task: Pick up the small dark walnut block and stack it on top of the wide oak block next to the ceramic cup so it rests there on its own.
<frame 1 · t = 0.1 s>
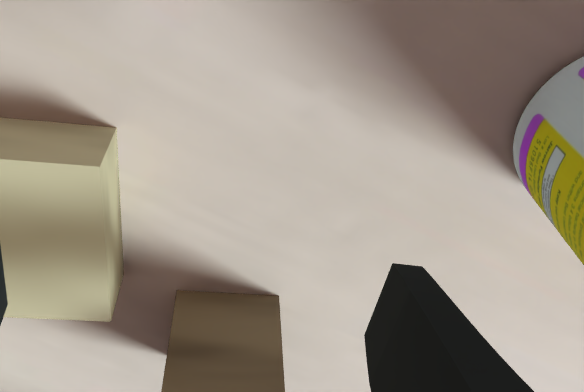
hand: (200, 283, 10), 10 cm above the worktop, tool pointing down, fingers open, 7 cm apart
oak block: (28, 196, 21), on the worktop
walnut block: (225, 327, 26), on the worktop
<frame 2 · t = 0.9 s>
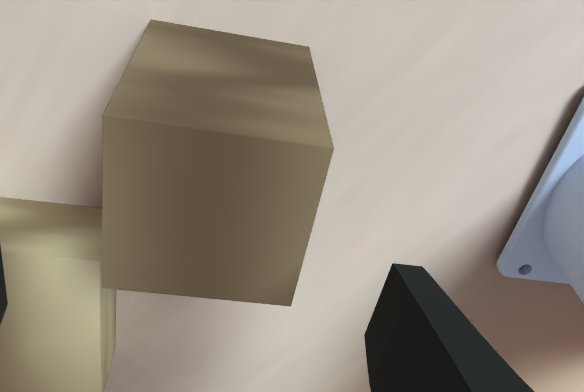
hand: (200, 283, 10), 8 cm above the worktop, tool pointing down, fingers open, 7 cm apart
oak block: (20, 269, 20), on the worktop
walnut block: (222, 104, 17), on the worktop
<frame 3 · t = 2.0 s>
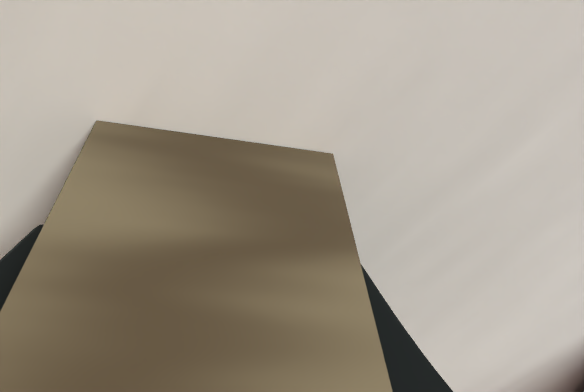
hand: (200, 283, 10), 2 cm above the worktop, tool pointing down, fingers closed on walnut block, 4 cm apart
walnut block: (206, 230, 12), on the worktop, touching gripper
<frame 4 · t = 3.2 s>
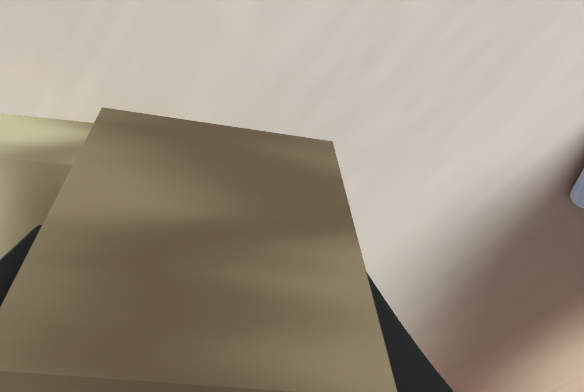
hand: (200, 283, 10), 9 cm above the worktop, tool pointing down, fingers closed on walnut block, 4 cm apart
oak block: (92, 202, 20), on the worktop
walnut block: (208, 216, 12), point 7 cm above the worktop, touching gripper
when the fingers open (6 cm above the worktop, at t = 4.6 s): walnut block drops 1 cm, resting on oak block.
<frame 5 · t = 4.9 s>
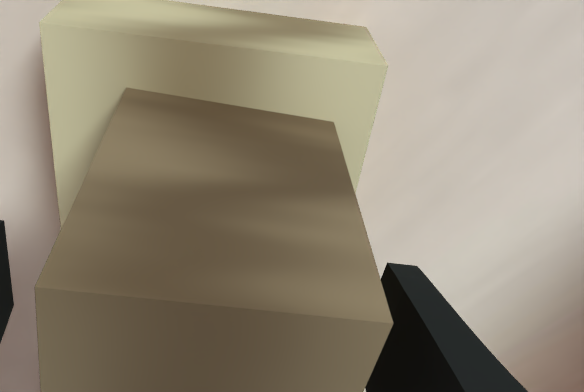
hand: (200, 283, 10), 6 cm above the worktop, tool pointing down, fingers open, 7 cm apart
oak block: (215, 129, 15), on the worktop, touching walnut block
walnut block: (219, 191, 13), point 3 cm above the worktop, touching oak block
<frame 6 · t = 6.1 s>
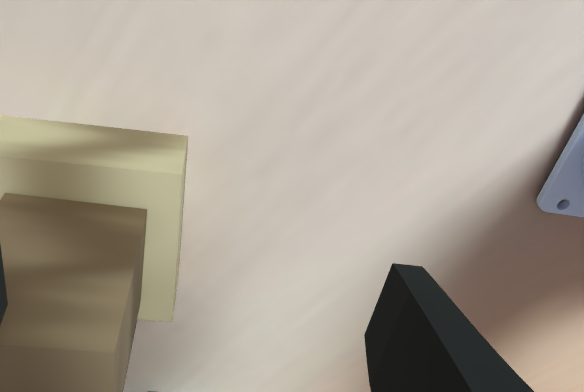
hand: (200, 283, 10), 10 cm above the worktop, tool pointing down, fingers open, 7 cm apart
oak block: (94, 198, 22), on the worktop
walnut block: (78, 252, 19), point 3 cm above the worktop
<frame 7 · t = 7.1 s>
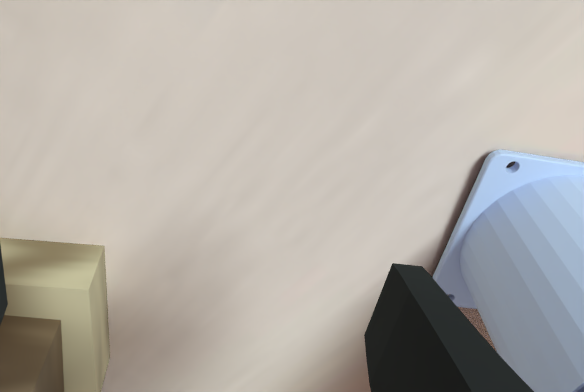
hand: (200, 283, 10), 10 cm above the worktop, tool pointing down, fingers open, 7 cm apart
oak block: (28, 294, 25), on the worktop, touching walnut block
walnut block: (5, 354, 22), point 3 cm above the worktop, touching oak block
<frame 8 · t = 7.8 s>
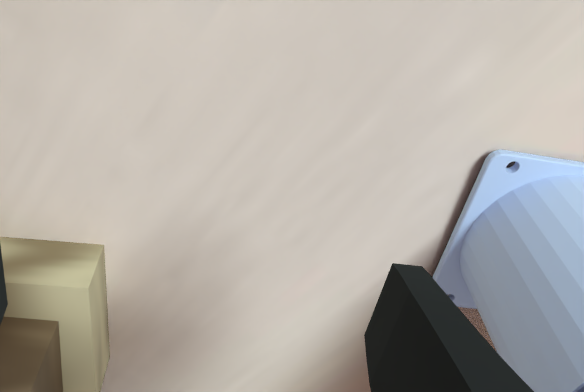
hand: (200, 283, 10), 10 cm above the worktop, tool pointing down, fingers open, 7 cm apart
oak block: (28, 293, 25), on the worktop
walnut block: (3, 354, 22), point 3 cm above the worktop
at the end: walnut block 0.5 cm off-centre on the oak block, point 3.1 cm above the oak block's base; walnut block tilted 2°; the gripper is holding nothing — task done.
